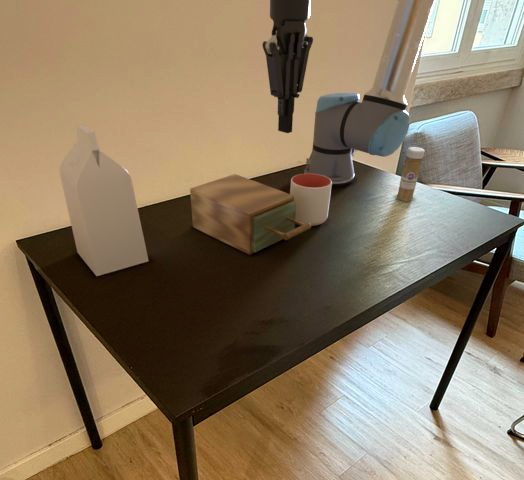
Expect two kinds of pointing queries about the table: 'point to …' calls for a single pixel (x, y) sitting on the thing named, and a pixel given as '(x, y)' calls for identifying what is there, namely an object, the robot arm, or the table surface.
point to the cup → (311, 197)
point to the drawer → (276, 225)
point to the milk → (101, 207)
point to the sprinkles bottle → (410, 173)
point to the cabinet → (232, 208)
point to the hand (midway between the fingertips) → (285, 131)
